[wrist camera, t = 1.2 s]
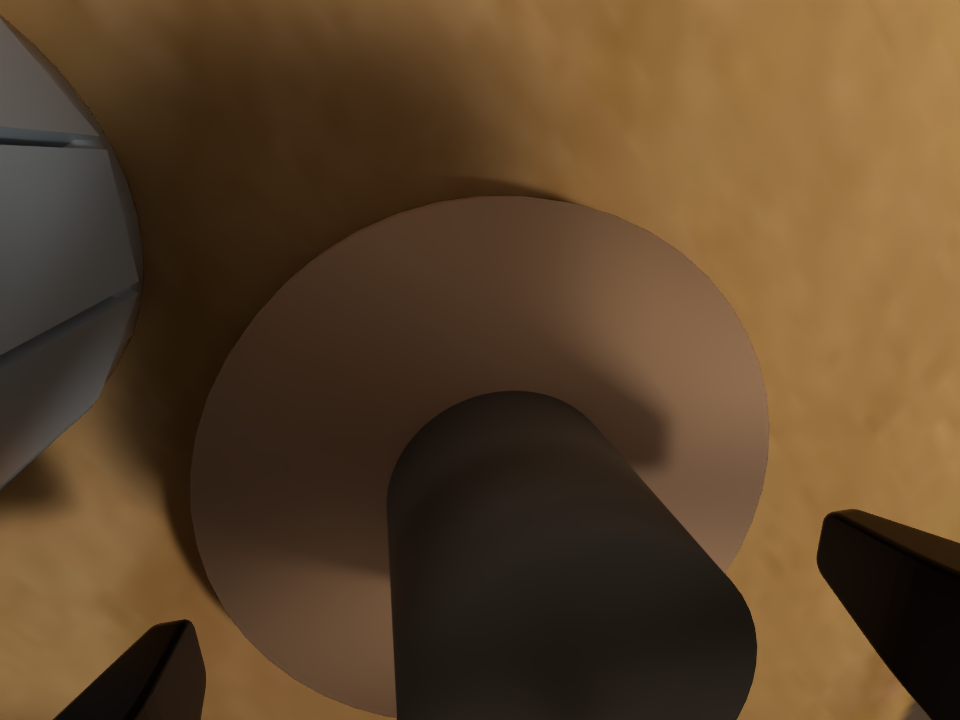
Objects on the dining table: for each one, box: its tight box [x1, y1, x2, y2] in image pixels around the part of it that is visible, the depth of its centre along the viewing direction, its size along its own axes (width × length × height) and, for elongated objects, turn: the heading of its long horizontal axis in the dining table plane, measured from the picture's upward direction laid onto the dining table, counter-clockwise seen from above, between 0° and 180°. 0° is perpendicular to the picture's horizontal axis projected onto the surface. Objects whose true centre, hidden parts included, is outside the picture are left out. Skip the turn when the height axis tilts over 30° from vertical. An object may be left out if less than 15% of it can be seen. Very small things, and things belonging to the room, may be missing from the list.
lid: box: [190, 196, 769, 720], centre depth 8 cm, size 10×10×5 cm
